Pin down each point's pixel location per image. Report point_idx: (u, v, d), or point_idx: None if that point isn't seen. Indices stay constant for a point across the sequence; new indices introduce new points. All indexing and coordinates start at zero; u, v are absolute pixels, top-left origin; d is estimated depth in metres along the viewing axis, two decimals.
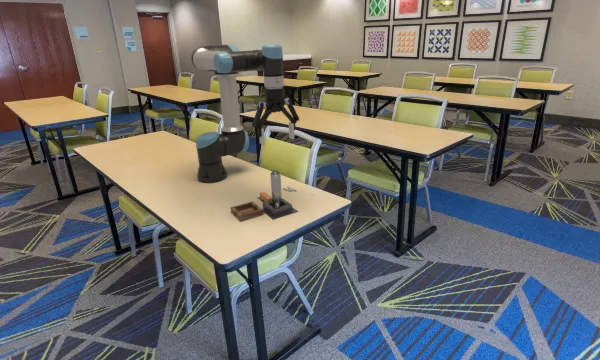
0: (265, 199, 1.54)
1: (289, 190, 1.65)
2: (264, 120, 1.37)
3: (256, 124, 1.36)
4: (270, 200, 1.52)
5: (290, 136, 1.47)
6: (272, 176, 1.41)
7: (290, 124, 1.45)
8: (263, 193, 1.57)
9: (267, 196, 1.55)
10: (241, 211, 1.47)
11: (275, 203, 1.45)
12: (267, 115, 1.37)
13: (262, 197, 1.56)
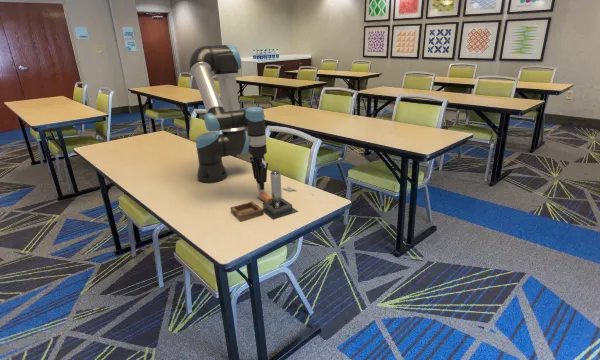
0: (265, 199, 1.54)
1: (289, 190, 1.65)
2: (255, 173, 1.56)
3: (254, 176, 1.58)
4: (270, 200, 1.52)
5: None
6: (272, 176, 1.41)
7: None
8: (263, 193, 1.57)
9: (267, 196, 1.54)
10: (241, 211, 1.47)
11: (275, 203, 1.45)
12: (255, 168, 1.55)
13: (262, 197, 1.56)
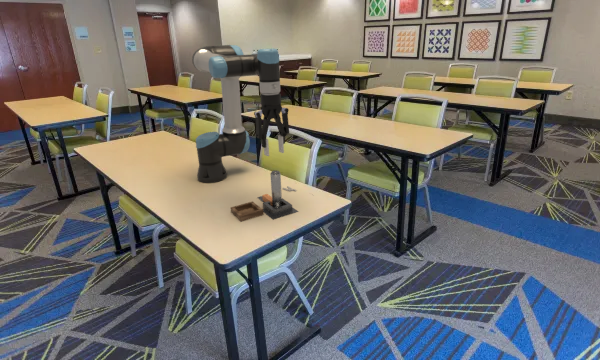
0: None
1: (289, 190, 1.65)
2: (266, 130, 1.33)
3: (260, 135, 1.32)
4: None
5: (279, 149, 1.41)
6: (272, 176, 1.41)
7: (279, 137, 1.39)
8: (266, 195, 1.55)
9: (270, 198, 1.52)
10: (241, 211, 1.47)
11: (275, 203, 1.45)
12: (267, 124, 1.33)
13: (265, 199, 1.54)
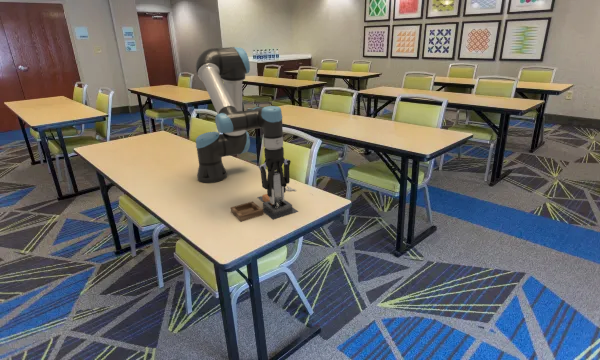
0: None
1: (288, 190, 1.65)
2: (271, 181, 1.41)
3: (266, 186, 1.40)
4: None
5: None
6: None
7: None
8: (266, 195, 1.55)
9: None
10: (241, 211, 1.47)
11: (275, 203, 1.45)
12: (271, 175, 1.40)
13: (265, 199, 1.54)
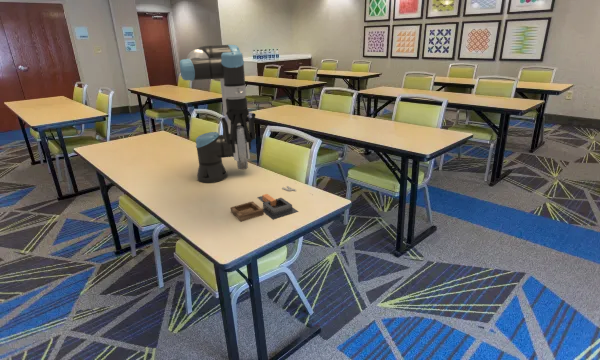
0: None
1: (288, 190, 1.65)
2: (234, 135, 1.31)
3: (228, 140, 1.30)
4: (273, 202, 1.50)
5: None
6: None
7: None
8: (266, 195, 1.55)
9: (270, 198, 1.52)
10: (241, 211, 1.47)
11: (240, 161, 1.35)
12: (234, 129, 1.30)
13: (265, 199, 1.54)
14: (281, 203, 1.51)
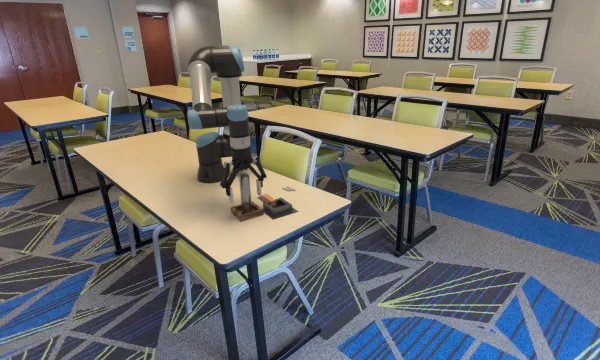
0: None
1: (288, 190, 1.65)
2: (232, 180, 1.36)
3: (224, 185, 1.35)
4: (273, 202, 1.50)
5: (257, 192, 1.46)
6: (240, 179, 1.39)
7: (257, 181, 1.44)
8: (266, 195, 1.55)
9: (270, 198, 1.52)
10: (241, 211, 1.47)
11: (244, 207, 1.43)
12: (234, 174, 1.36)
13: (265, 199, 1.54)
14: (281, 203, 1.51)
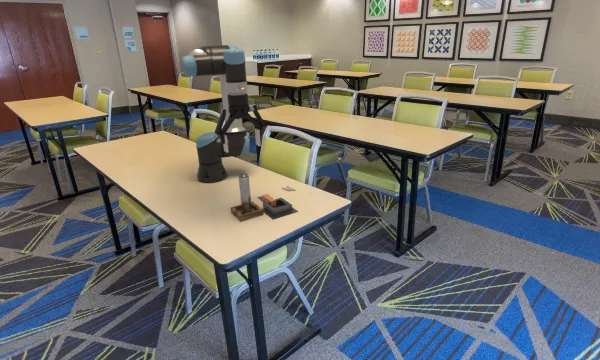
0: None
1: (288, 189, 1.65)
2: (227, 127, 1.33)
3: (218, 131, 1.31)
4: (273, 202, 1.50)
5: (256, 143, 1.43)
6: (240, 179, 1.38)
7: (256, 131, 1.41)
8: (266, 195, 1.55)
9: (270, 198, 1.52)
10: (241, 211, 1.47)
11: (244, 207, 1.42)
12: (230, 122, 1.33)
13: (265, 199, 1.54)
14: (281, 203, 1.51)
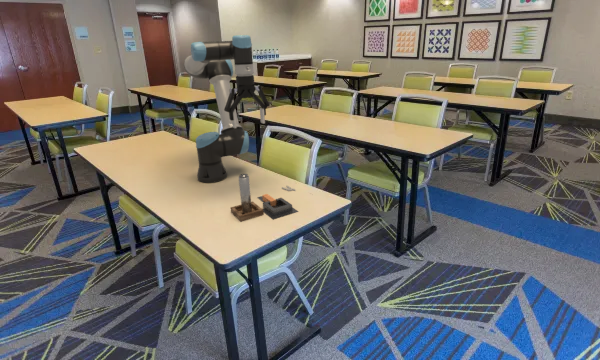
0: None
1: (288, 189, 1.66)
2: (235, 105, 1.49)
3: (228, 108, 1.48)
4: (273, 202, 1.50)
5: (261, 121, 1.60)
6: (240, 179, 1.38)
7: (261, 109, 1.57)
8: (266, 195, 1.55)
9: (270, 198, 1.52)
10: (241, 211, 1.47)
11: (244, 207, 1.42)
12: (238, 100, 1.49)
13: (265, 199, 1.54)
14: (281, 203, 1.51)
